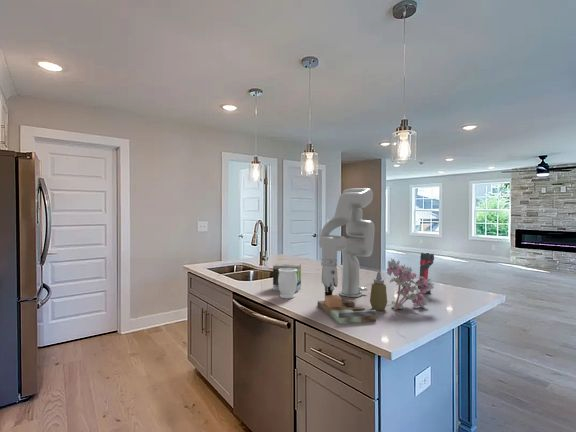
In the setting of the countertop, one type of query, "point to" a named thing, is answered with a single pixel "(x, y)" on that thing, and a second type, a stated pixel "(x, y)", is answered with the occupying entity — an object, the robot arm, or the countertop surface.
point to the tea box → (278, 266)
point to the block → (333, 301)
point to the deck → (348, 312)
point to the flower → (408, 285)
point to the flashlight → (425, 265)
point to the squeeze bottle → (378, 294)
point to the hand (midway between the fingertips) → (328, 300)
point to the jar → (287, 282)
